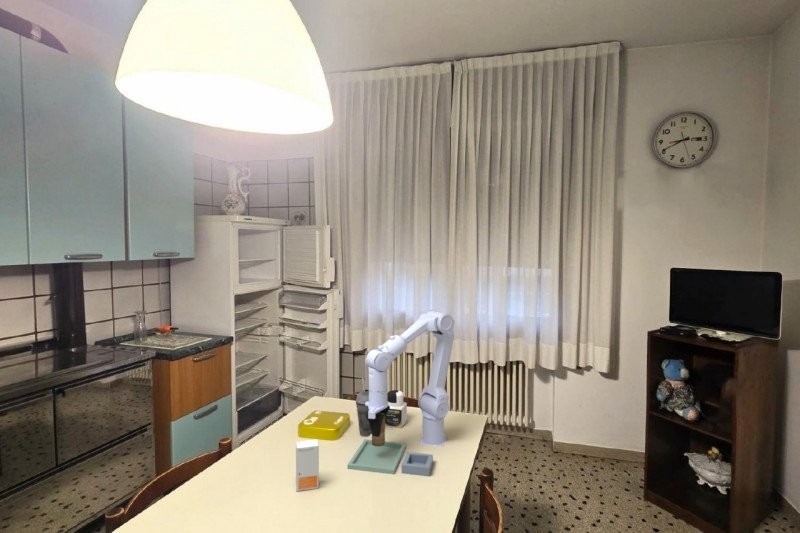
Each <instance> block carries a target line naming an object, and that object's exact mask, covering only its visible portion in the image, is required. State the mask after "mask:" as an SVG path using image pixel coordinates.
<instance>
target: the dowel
mask: <svg viewBox="0 0 800 533" xmlns="http://www.w3.org/2000/svg"><path fill="white" fill-rule="evenodd" d="M379 413H380V414H383V415H385V414H384V413H381V412H379ZM371 440H372V445H373V446H383V445H384V444H385V441H386V426H385V416H384V418H383V421H382V425H381V433H380V436H379V437H375V436H373V435H372V434H371Z"/></svg>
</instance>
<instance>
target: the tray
mask: <svg viewBox="0 0 800 533" xmlns="http://www.w3.org/2000/svg"><path fill="white" fill-rule="evenodd" d="M406 449H407V443H405V442H395V441H387V440H385V444H384V445H383V446H373V445H372V439H364V440H363V441H362V443H361V444H360V445H359V447H358V448H357V449H356V452H354V455H353V456H352V458H351V459H350V460H349V462H348V464H347V470H353V471H363V472H371V473H380V474H387V475H388V474H389V475H395V473H396V471H397V469H398V467H399V464H400V462H401V459H402V457H403V455H404V453H405V450H406Z"/></svg>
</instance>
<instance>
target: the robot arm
mask: <svg viewBox="0 0 800 533" xmlns="http://www.w3.org/2000/svg"><path fill="white" fill-rule="evenodd" d="M455 323H456V321H455V320H454V318H453V317H452V314H450V313H449V312H440V311H436V310H433V309H428V310H426V311H425V312H424V313H422V314H420V316H419V318H418V319H417V320H416V321H415V322H414V323H412V325H411V326H409V327H408V328H407V329H406V330H405V331H403V333H402V334H400V335H398V334H395V335H390V337H389V338H388V340H387V341H385V342H384V343H383V344H381V345H379V346H377V347H378V348H377V349H372V350H370V351H369V352H368V353H367V355H366V358H365V359H364V362H365V365H366V366H367V367H368V390H369V402H368V401H367V402H366V403H365V406H368V408H369V412H367V413H366V418H367V420H368V422H369V424H370V427H371V432H372V434H371V436H372V435H373V436H375V437H379V436H380V433H381V425H382V421H383V418H384V416H385V420H386V416H387V413H388V411H389V409H390V406H388V402H387V393H388V370H389V369H390V367H391V366H392V362H394V360H395V359H396V358H397V357H399V356H400V355H401V354H403V353H404V352H405V351H406V350H407V349H408V348H407V345H408V344H409V343H410V342H412V341H413V340H416V338H418V337H419V336H421V335H422V334H423V333H425V332H431V333H432V334H433V336H434V337H435V338H436V344H435V349H434V354H433V359H432V365H431V368H430V369H431V370H430V376H429V379H428V384H427V385H426V386H425V387H423V389H422V392H421V395H420V397H419V398H418V403H417V405H418V408H419V409H420V410H421V414H422V436H421V437H422V438H421V439H420V443H419V444H420V445H424V446H434V447H442V448H443V447H445V443H446V440H447V436H448V435H447V434H446V433H445V418H446V416H447V415H448V413H449V410H450V406H449V398H450V396H449V394H448V392H447V391H446V389H445V387H446V383H447V382H446V381H447V378H448V377H447V375H448V372H449V366H450V361H451V355H452V350H453V345H454V340H455V339H454V338H455V334H454V328H455ZM379 412H381V413H384V414H385V415H383V414H380V413H379Z"/></svg>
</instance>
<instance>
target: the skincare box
mask: <svg viewBox="0 0 800 533" xmlns="http://www.w3.org/2000/svg"><path fill="white" fill-rule="evenodd" d="M319 447H320V446H319V439H306V440H300V441H295V488H296V492H299V491H308V490H315V489H319V485H320V484H319V483H320V482H319V477H320V476H319V474H320V472H319V470H320V469H319V468H320V463H319V461H320V460H319V459H320V458H319V457H320V454H319V453H320V450H319Z"/></svg>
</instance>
